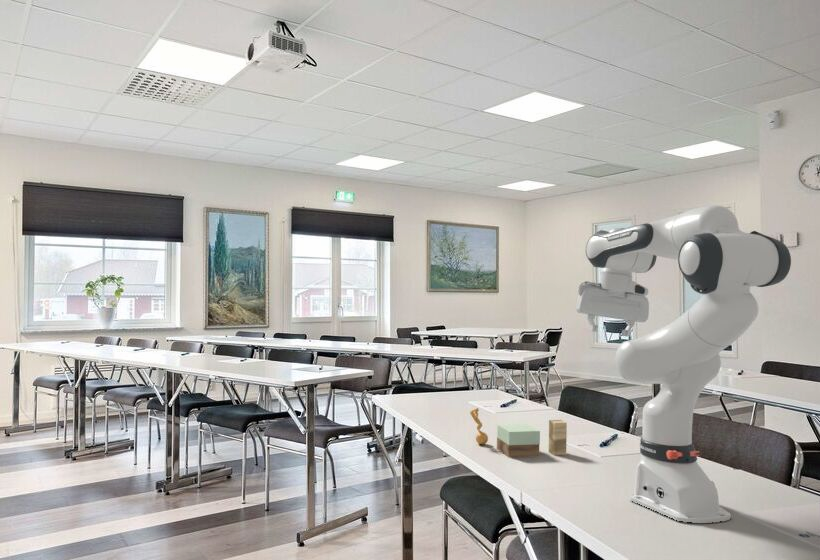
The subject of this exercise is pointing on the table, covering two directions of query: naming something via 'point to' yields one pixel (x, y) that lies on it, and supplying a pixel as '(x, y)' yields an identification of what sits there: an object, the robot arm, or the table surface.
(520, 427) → the pale green square slab
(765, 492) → the table surface
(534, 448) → the tower base
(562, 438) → the oak post
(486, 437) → the figurine
